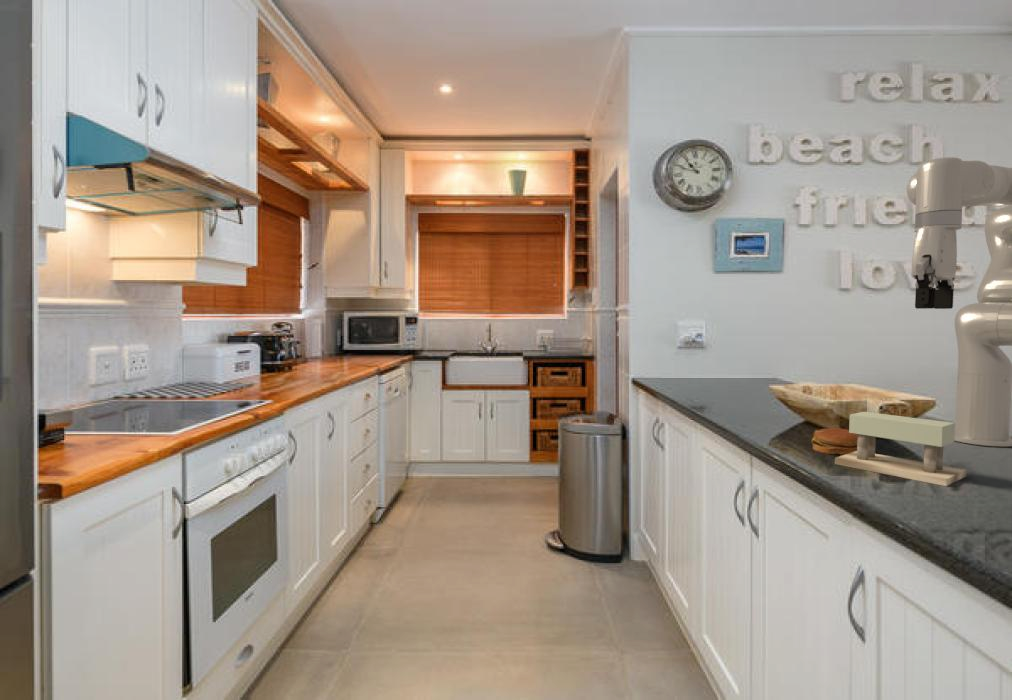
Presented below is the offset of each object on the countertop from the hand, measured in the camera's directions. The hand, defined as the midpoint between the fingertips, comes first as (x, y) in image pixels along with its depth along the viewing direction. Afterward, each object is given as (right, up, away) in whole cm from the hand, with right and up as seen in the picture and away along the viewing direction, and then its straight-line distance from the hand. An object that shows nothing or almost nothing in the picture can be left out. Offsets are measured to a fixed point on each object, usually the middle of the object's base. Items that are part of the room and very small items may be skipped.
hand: (934, 308), depth 115 cm
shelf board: (-13, -25, -9) cm, 29 cm away
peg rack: (-13, -31, -8) cm, 35 cm away
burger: (-16, -30, +7) cm, 35 cm away
